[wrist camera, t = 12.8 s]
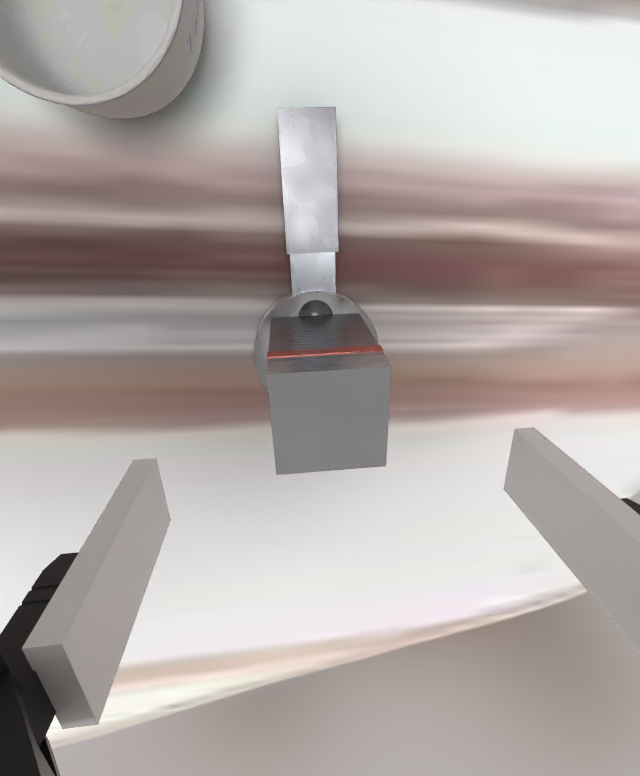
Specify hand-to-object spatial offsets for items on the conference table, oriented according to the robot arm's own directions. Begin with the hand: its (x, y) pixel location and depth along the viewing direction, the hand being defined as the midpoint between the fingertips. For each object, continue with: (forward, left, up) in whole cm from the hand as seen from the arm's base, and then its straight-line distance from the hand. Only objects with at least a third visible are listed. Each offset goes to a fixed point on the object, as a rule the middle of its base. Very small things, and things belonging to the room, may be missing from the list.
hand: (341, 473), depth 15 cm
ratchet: (-5, 0, -17) cm, 18 cm away
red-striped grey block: (0, 0, -15) cm, 15 cm away
